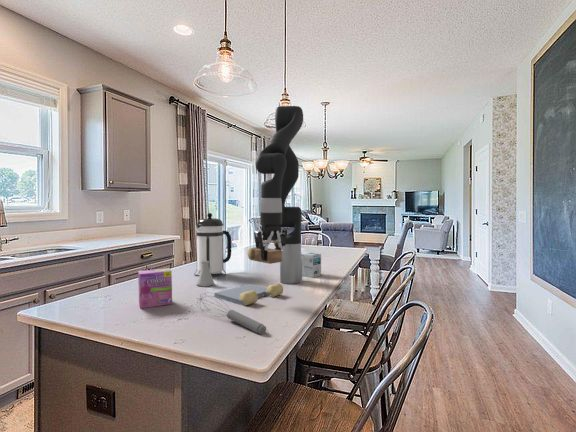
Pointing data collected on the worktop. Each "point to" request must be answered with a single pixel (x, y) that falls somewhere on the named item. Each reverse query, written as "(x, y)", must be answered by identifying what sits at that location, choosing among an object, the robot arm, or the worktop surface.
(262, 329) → the kitchen whisk
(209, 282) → the flask
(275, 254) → the tan wooden beam
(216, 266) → the coffee press
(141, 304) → the box
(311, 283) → the worktop surface
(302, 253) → the light bulb box
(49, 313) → the worktop surface
